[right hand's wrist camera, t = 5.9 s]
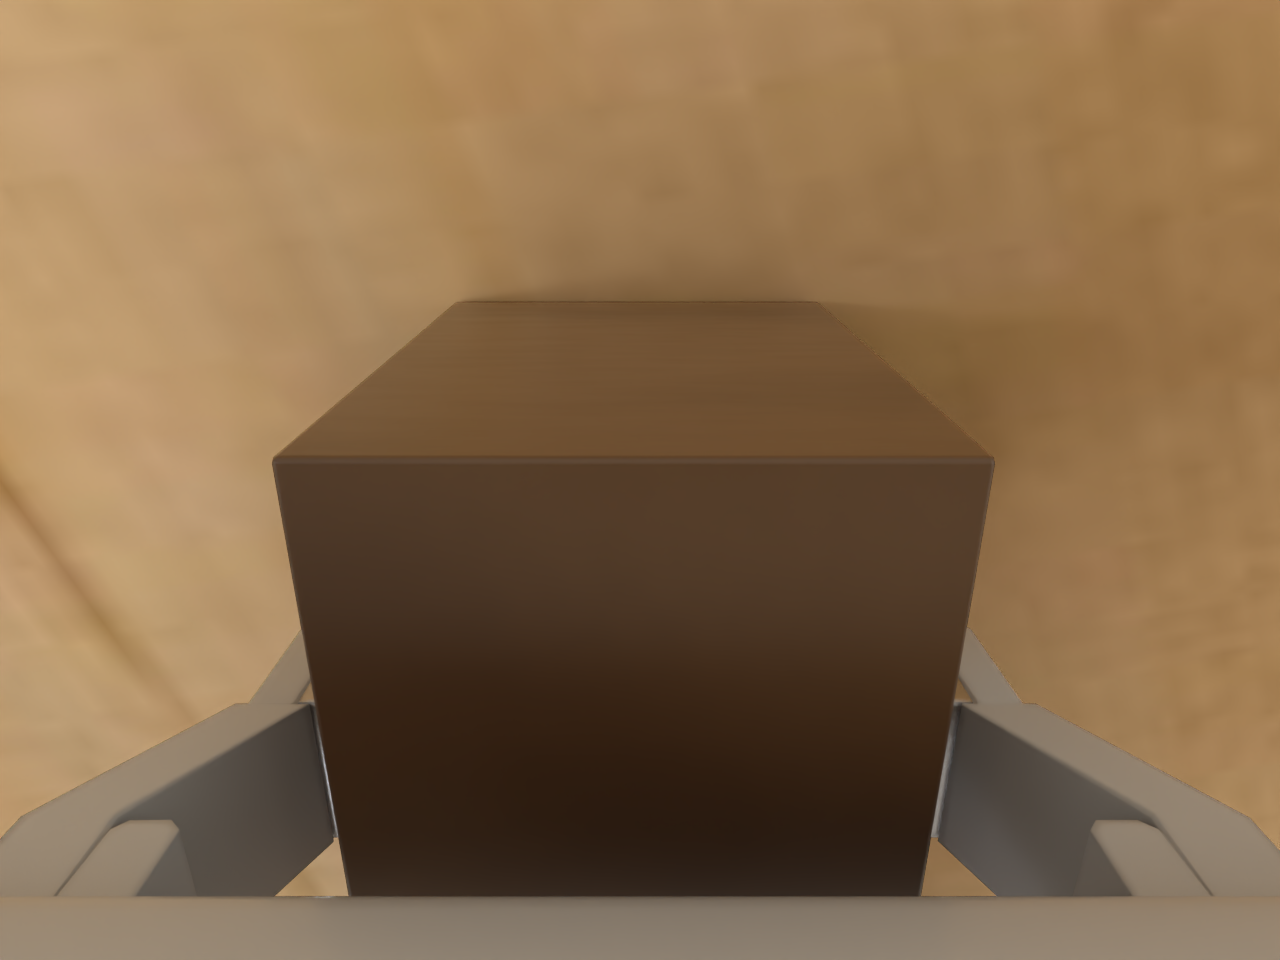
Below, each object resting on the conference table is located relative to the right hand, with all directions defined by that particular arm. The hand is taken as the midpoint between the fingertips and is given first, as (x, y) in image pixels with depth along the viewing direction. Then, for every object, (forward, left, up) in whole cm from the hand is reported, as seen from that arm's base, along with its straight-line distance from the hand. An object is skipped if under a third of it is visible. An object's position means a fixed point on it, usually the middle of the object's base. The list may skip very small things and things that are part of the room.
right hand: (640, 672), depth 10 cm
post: (+24, -27, -3) cm, 36 cm away
